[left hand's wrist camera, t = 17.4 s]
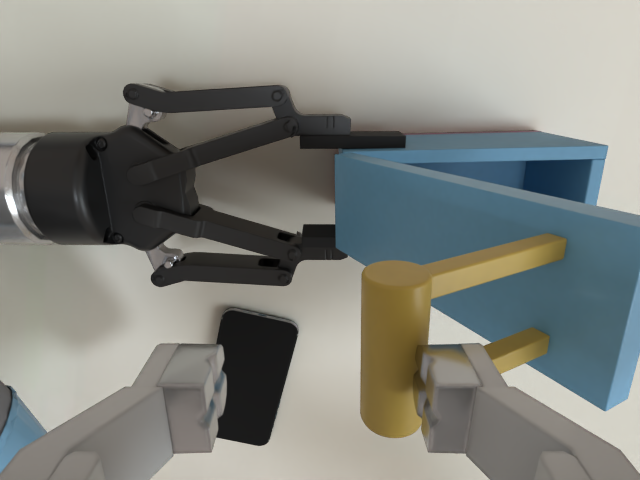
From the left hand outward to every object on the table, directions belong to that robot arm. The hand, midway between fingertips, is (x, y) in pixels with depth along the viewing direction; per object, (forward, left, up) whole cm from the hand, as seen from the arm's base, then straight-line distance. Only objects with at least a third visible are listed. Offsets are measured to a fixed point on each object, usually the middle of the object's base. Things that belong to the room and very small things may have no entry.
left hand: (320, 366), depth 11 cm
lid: (-1, -6, -9) cm, 11 cm away
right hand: (-1, -5, -19) cm, 20 cm away
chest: (-1, -9, -26) cm, 28 cm away
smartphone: (-20, +10, -26) cm, 34 cm away
